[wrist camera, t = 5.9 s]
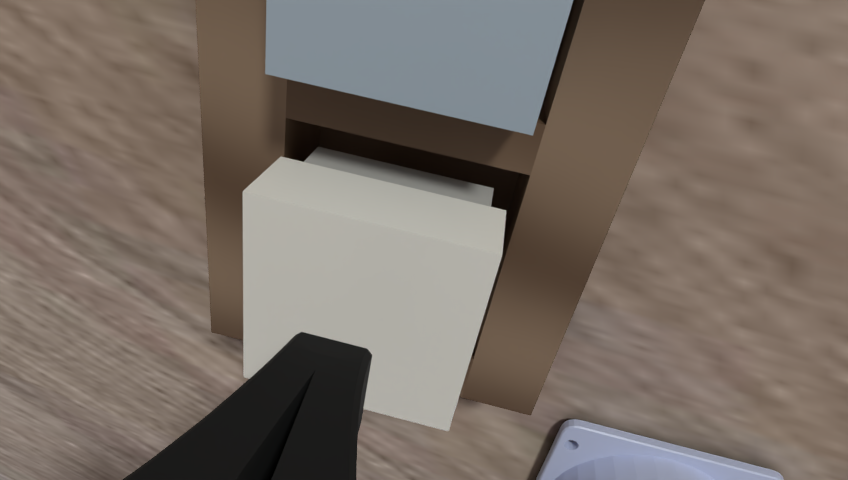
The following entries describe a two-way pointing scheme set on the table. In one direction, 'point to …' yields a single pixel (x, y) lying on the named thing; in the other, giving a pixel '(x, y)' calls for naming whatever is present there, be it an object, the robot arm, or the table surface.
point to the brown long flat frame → (456, 164)
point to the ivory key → (372, 272)
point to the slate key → (424, 53)
